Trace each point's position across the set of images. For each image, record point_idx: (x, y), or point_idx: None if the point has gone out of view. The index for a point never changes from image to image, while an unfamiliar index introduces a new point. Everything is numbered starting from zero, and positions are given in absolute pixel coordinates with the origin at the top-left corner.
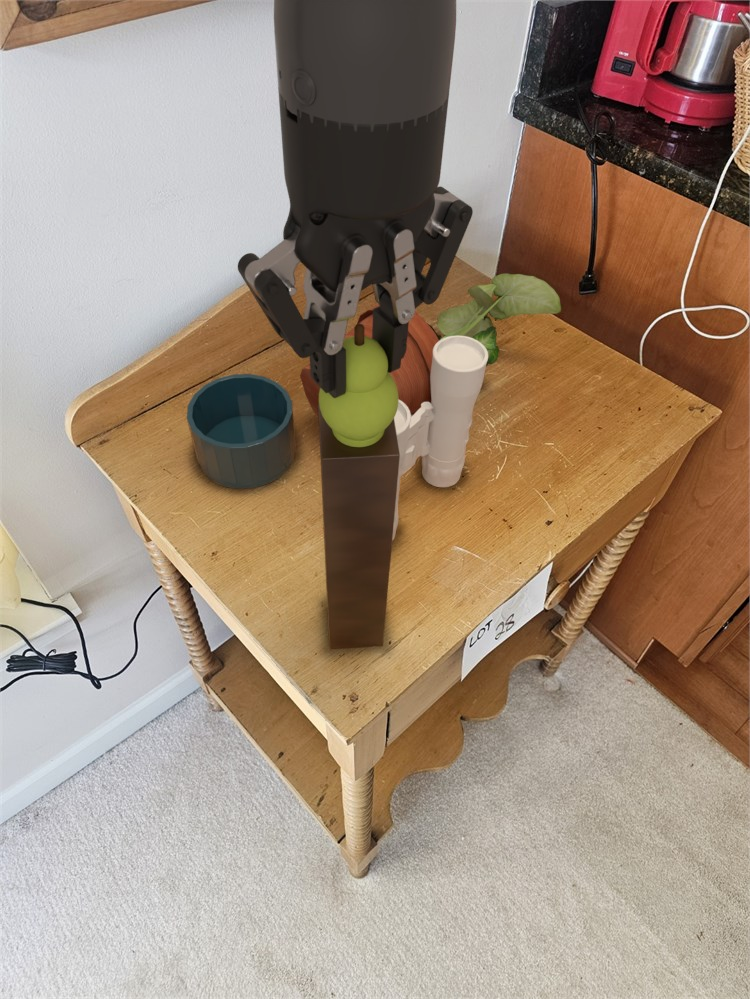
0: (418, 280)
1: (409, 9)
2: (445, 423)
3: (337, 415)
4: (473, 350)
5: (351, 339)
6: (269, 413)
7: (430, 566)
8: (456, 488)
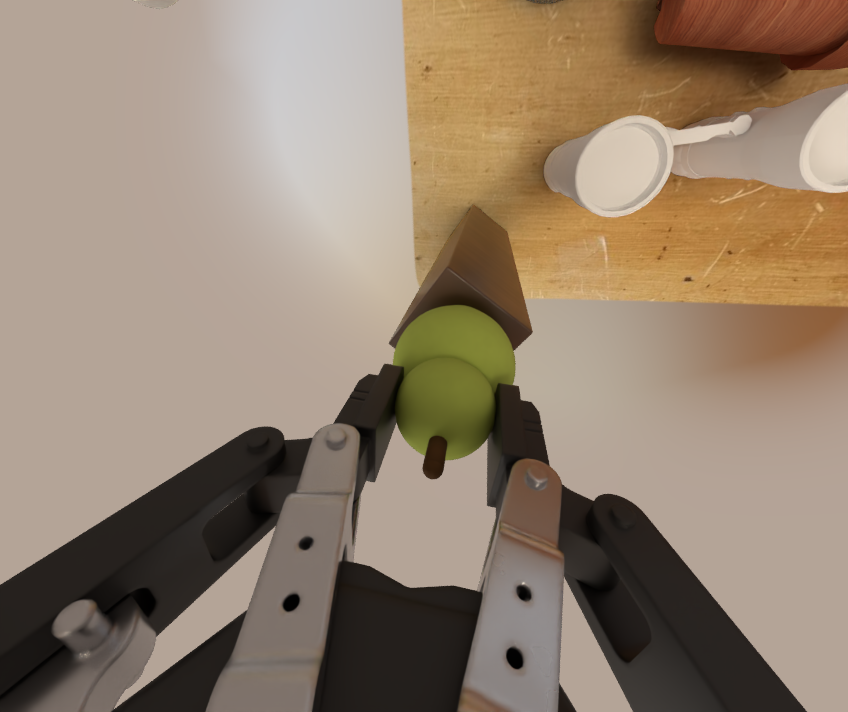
0: (594, 572)
1: None
2: (727, 161)
3: None
4: None
5: (435, 424)
6: None
7: (568, 237)
8: (677, 182)
